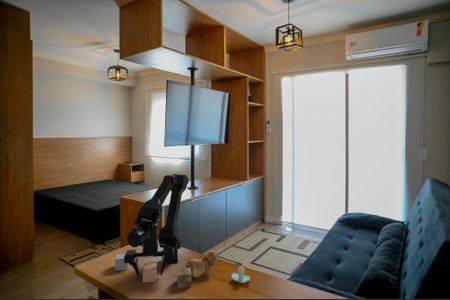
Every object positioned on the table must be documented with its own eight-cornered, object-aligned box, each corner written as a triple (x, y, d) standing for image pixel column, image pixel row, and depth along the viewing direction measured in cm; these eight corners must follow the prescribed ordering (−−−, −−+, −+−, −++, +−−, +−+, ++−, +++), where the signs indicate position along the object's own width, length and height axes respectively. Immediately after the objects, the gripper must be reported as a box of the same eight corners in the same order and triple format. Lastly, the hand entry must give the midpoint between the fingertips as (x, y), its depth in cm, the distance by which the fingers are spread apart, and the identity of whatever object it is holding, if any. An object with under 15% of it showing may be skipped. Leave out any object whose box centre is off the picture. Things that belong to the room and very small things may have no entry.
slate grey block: (129, 264, 118) (129, 253, 118) (127, 270, 113) (127, 258, 113) (117, 265, 117) (117, 254, 117) (115, 271, 112) (115, 259, 112)
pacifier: (234, 275, 111) (230, 282, 105) (235, 260, 111) (230, 266, 105) (252, 279, 109) (248, 286, 103) (253, 263, 108) (249, 270, 103)
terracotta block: (156, 274, 110) (156, 262, 110) (156, 281, 105) (156, 269, 105) (144, 276, 109) (144, 263, 108) (142, 282, 104) (142, 270, 104)
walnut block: (190, 279, 107) (190, 267, 106) (191, 287, 102) (191, 274, 101) (177, 281, 106) (177, 268, 105) (177, 288, 101) (177, 275, 100)
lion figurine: (214, 268, 116) (214, 248, 115) (218, 274, 111) (219, 253, 110) (180, 274, 110) (180, 253, 110) (183, 281, 105) (183, 258, 105)
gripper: (174, 228, 116) (173, 264, 117) (127, 231, 112) (128, 267, 113) (174, 238, 105) (174, 277, 106) (123, 241, 101) (123, 282, 102)
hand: (150, 275), depth 107 cm, fingers open, 8 cm apart
